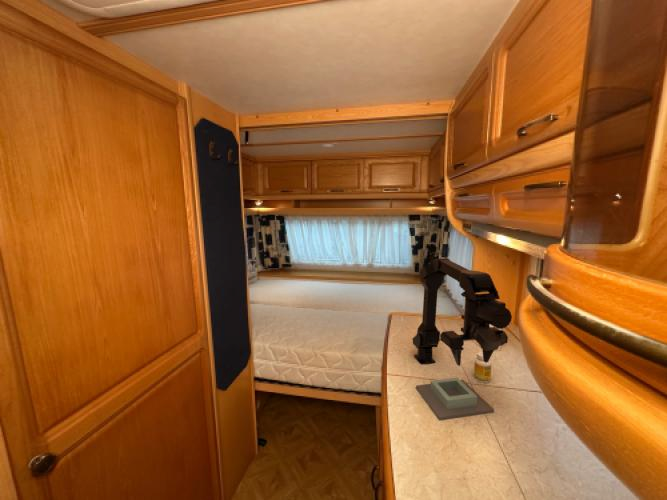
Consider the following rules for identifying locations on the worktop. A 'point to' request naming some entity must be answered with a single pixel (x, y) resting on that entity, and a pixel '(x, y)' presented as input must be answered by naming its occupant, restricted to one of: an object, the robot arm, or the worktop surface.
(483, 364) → the supplement bottle
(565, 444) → the worktop surface
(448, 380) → the socket
